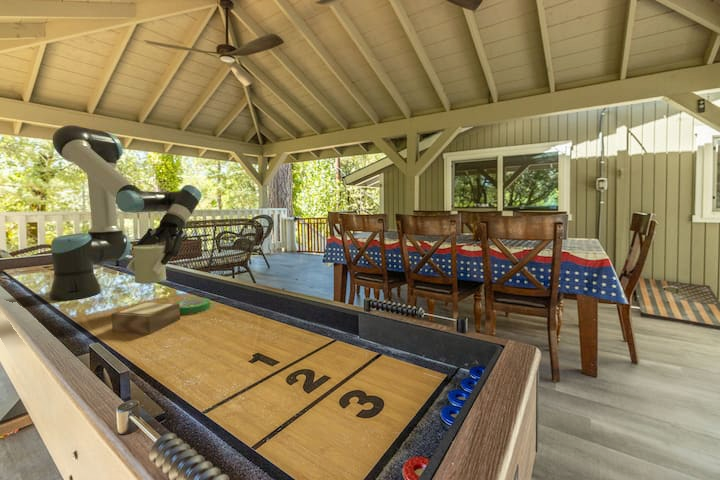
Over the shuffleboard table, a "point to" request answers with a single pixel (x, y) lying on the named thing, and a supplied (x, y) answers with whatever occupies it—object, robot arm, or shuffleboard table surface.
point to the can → (148, 263)
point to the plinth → (145, 317)
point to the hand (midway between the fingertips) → (142, 270)
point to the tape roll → (197, 303)
